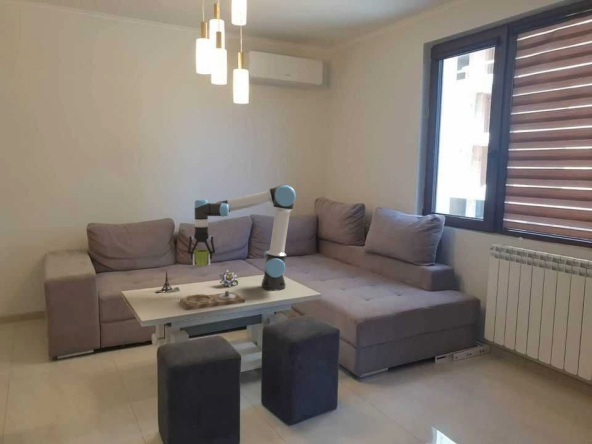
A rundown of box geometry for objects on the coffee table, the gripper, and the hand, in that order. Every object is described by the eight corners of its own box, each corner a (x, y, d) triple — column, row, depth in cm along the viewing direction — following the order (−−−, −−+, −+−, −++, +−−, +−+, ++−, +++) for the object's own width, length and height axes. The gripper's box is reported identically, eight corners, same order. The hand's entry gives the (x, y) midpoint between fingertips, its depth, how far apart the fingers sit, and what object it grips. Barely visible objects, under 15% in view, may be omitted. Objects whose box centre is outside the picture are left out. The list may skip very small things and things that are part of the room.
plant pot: (205, 267, 263) (205, 252, 262) (190, 266, 265) (190, 251, 264) (212, 264, 272) (212, 249, 271) (197, 263, 274) (197, 248, 273)
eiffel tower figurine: (154, 294, 270) (154, 272, 268) (152, 290, 279) (152, 268, 277) (180, 292, 275) (180, 270, 274) (178, 287, 285) (177, 266, 283)
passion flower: (229, 295, 288) (220, 282, 281) (222, 288, 296) (213, 275, 290) (243, 284, 291) (234, 271, 284) (236, 277, 299) (228, 264, 293)
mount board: (234, 295, 269) (234, 286, 268) (244, 302, 255) (244, 293, 254) (179, 302, 253) (179, 293, 253) (187, 310, 240) (187, 300, 239)
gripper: (220, 225, 271) (220, 263, 273) (183, 225, 269) (184, 263, 271) (219, 227, 263) (219, 266, 266) (181, 227, 261) (182, 266, 264)
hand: (201, 264), depth 269 cm, fingers closed on plant pot, 8 cm apart
